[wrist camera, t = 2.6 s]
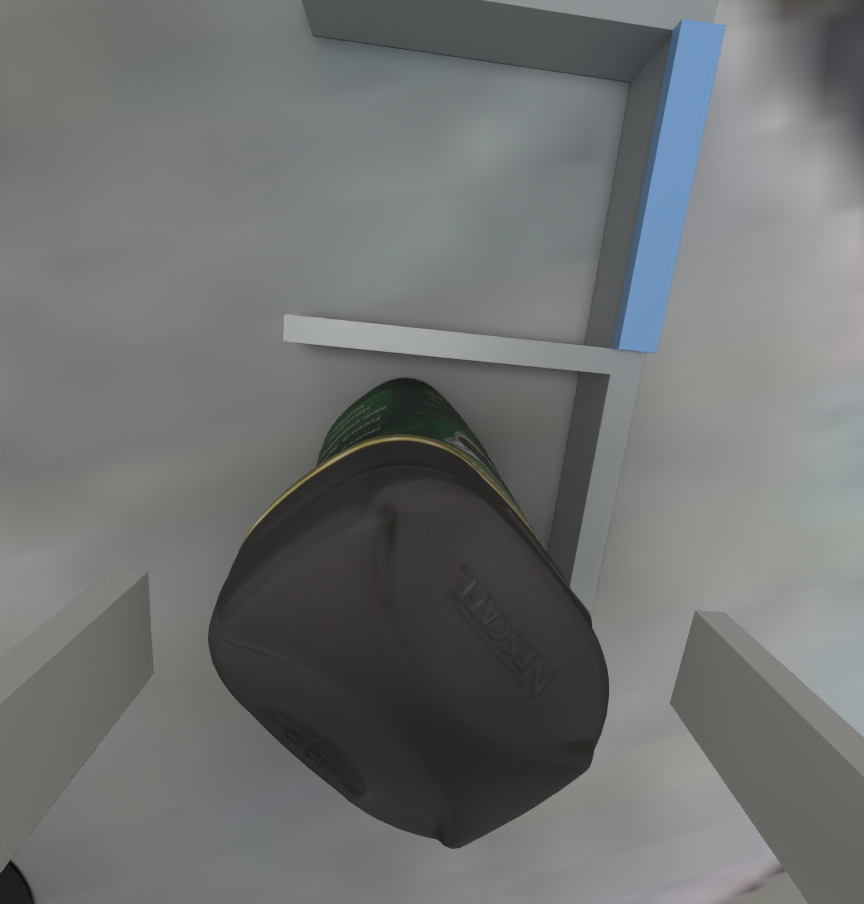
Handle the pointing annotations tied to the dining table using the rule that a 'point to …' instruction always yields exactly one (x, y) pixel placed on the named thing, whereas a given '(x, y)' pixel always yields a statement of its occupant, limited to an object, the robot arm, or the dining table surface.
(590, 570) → the divided storage rack
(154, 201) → the dining table surface
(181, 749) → the dining table surface
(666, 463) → the dining table surface
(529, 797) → the coffee jar
